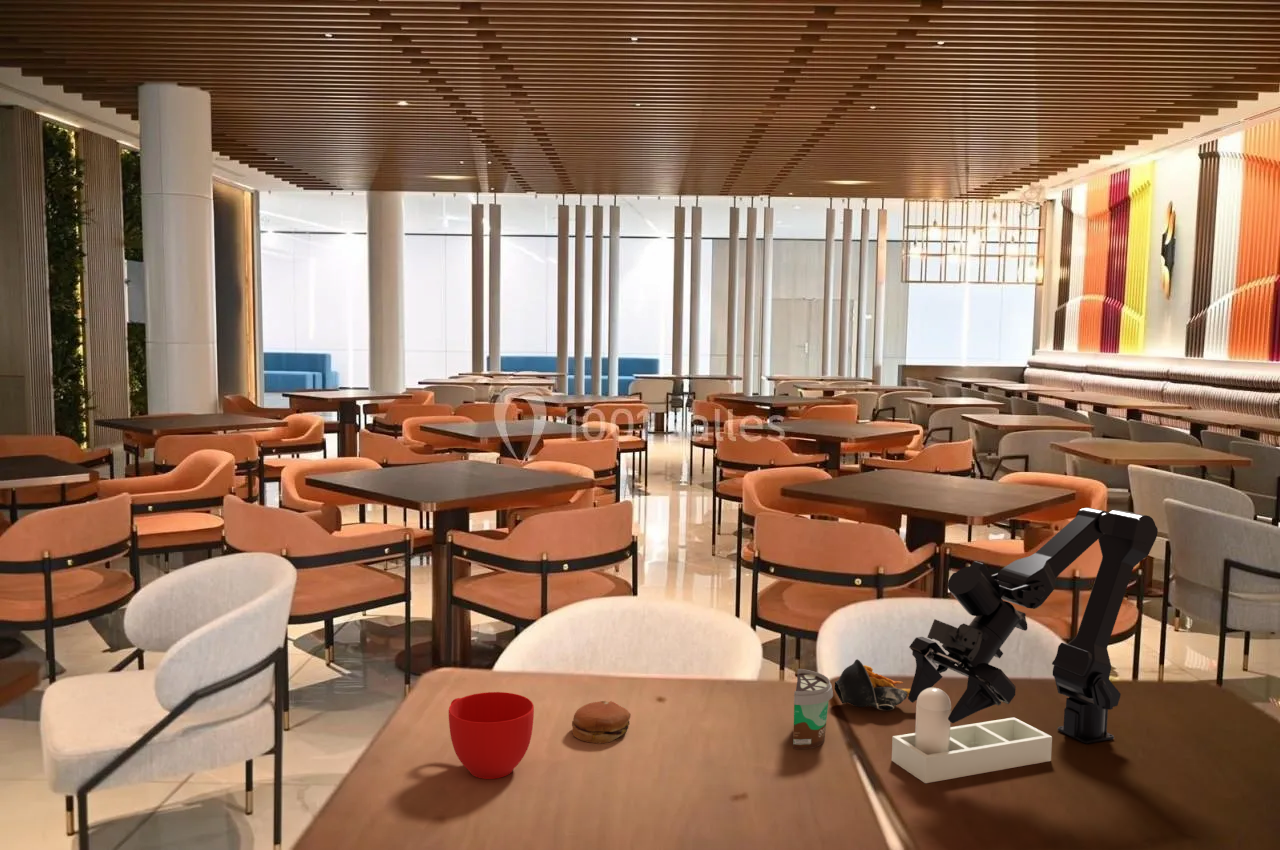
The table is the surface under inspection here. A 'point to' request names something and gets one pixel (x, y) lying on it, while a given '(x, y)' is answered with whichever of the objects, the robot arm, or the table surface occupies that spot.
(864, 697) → the fried shrimp in bowl
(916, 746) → the cream capsule cylinder
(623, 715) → the burger
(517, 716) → the ceramic cup
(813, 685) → the food container
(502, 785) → the table surface
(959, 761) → the compartment tray
